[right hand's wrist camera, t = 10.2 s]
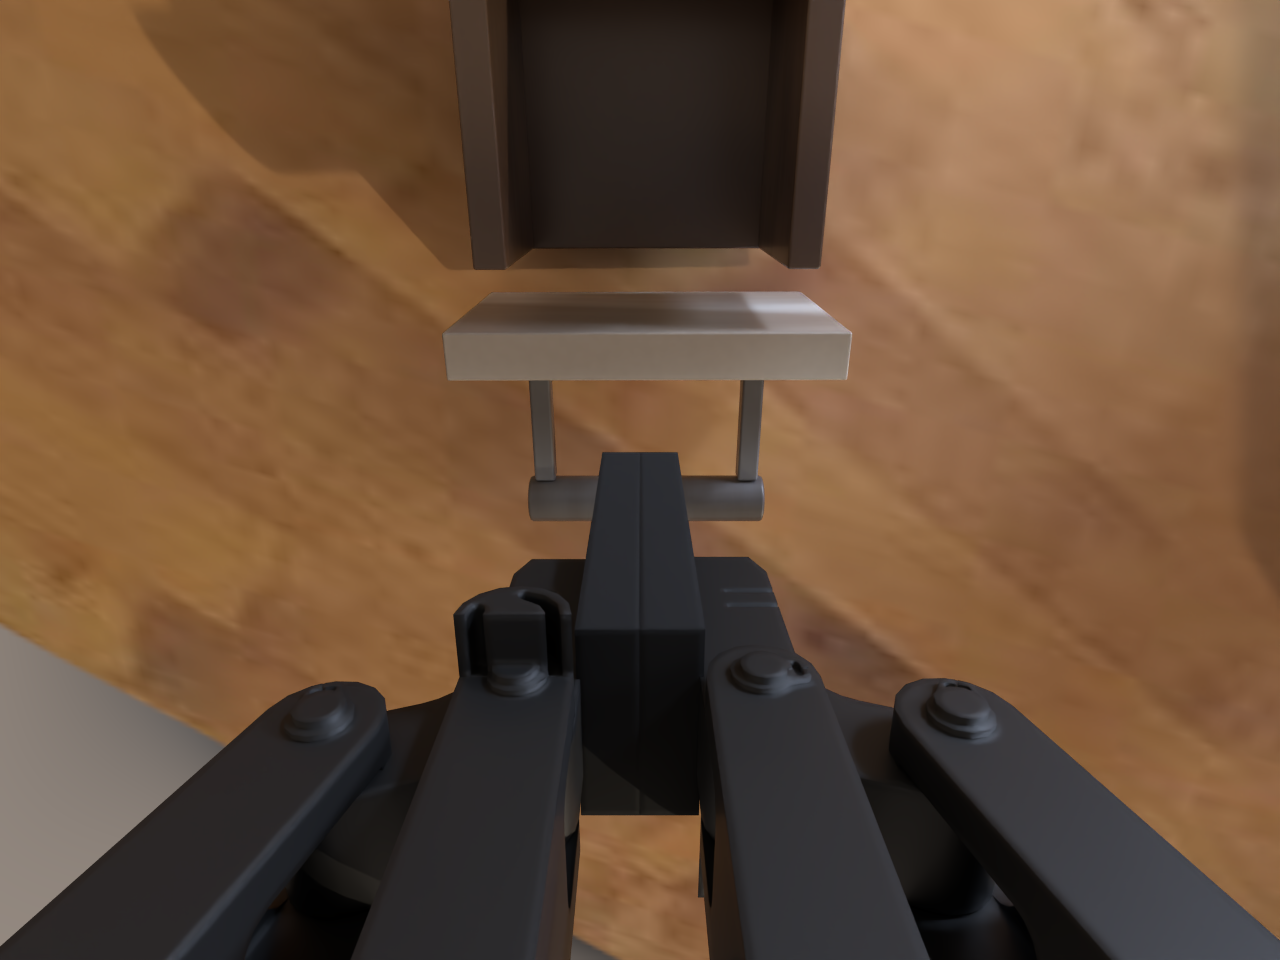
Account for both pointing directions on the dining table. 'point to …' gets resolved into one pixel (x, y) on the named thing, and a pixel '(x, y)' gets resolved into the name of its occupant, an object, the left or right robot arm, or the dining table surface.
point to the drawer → (647, 202)
